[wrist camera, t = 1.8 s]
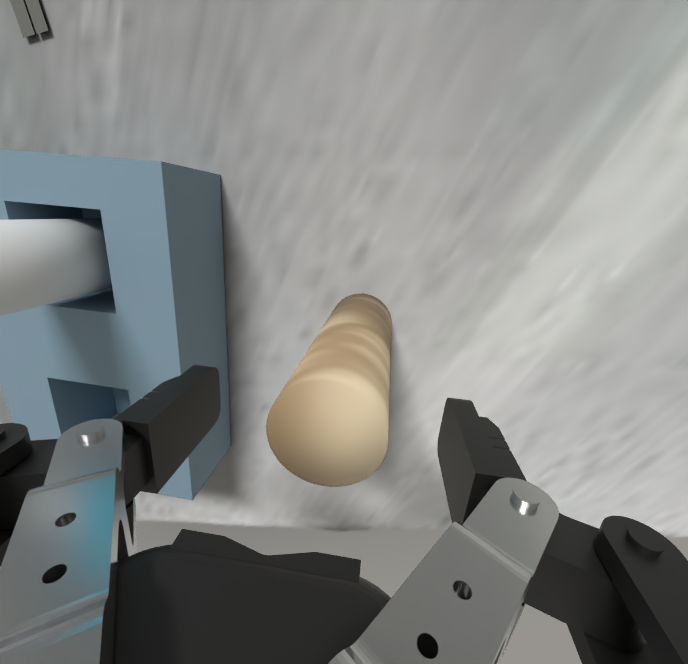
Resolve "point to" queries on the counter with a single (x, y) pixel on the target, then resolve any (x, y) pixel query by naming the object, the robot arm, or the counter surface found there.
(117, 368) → the bore block
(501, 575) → the robot arm
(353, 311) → the beech pin
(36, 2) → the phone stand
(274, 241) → the counter surface
